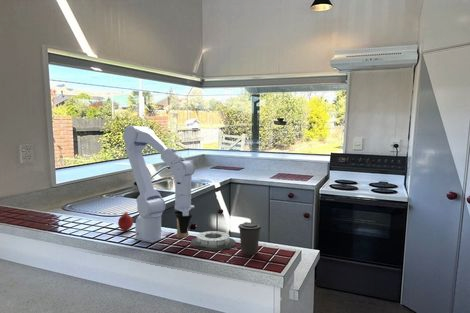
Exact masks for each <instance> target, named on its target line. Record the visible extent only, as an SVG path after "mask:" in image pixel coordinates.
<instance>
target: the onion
mask: <svg viewBox="0 0 470 313" xmlns="http://www.w3.org/2000/svg"><path fill="white" fill-rule="evenodd" d="M133 224H134V220H133V218H132V217H131V215H129V214H128V211H127V212H126V211H125V212H124V214H123V215H121V216H120V217H119V219H118V220H117V225H118V228H119V229H121V231H123V232H127V231H129V230H130V229H131V228H132V227H133Z"/></svg>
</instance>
